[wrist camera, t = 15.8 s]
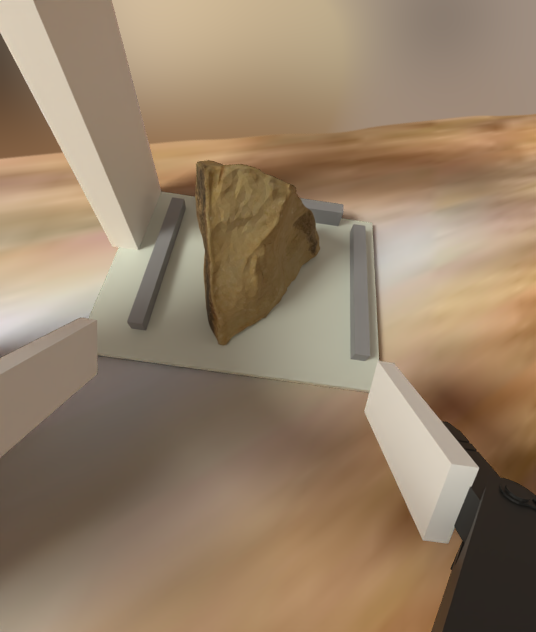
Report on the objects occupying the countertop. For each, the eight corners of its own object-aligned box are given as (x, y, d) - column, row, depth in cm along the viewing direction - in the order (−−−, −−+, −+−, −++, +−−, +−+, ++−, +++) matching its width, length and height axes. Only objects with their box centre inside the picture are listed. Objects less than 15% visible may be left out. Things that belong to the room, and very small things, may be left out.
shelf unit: (370, 226, 29) (582, -189, 11) (377, 393, 22) (1003, -17, 4) (134, 191, 28) (-39, -297, 11) (63, 350, 21) (-803, -320, 4)
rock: (307, 187, 26) (181, 189, 23) (376, 151, 18) (197, 146, 15) (316, 318, 28) (200, 336, 25) (381, 337, 20) (223, 368, 17)
